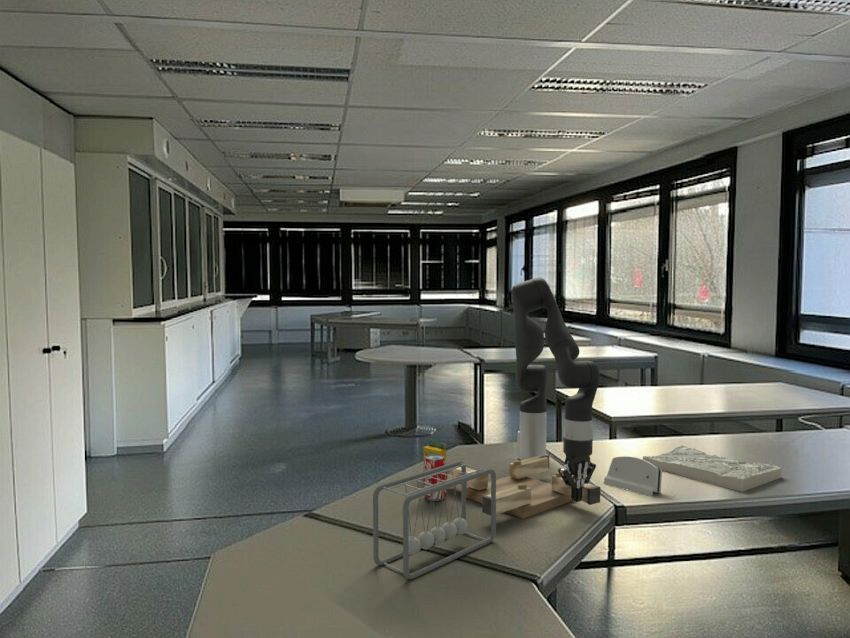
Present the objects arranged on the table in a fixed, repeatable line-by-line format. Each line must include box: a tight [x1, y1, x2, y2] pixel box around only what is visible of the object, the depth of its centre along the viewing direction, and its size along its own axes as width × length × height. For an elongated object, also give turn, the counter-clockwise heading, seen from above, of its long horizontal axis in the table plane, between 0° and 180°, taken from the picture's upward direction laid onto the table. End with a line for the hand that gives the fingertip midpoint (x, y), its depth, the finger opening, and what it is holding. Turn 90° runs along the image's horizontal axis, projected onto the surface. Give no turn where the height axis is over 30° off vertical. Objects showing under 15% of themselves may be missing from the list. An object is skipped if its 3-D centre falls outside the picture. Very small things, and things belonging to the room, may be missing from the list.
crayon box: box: [423, 439, 447, 462], centre depth 198 cm, size 7×3×12 cm, turn 47°
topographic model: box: [642, 444, 782, 492], centre depth 205 cm, size 23×34×5 cm
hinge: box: [603, 455, 663, 497], centre depth 189 cm, size 17×5×10 cm, turn 40°
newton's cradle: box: [372, 460, 497, 580], centre depth 142 cm, size 30×10×18 cm, turn 136°
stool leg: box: [551, 471, 601, 506], centre depth 173 cm, size 15×4×5 cm, turn 32°
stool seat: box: [446, 454, 574, 519], centre depth 183 cm, size 32×44×8 cm
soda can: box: [423, 455, 447, 502], centre depth 180 cm, size 6×6×12 cm
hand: (576, 500), depth 167 cm, fingers closed
